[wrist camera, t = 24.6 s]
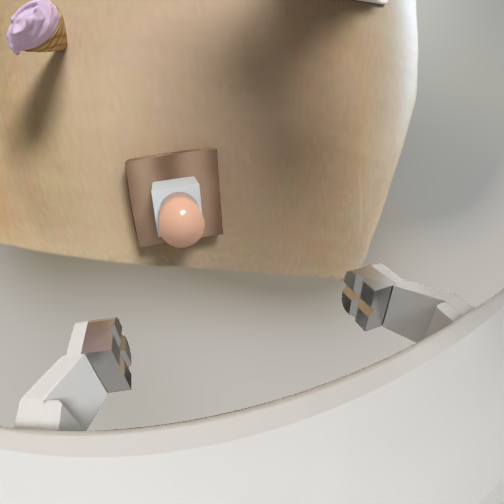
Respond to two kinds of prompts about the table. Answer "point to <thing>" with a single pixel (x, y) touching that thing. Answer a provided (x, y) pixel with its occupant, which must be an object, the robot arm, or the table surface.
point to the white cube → (172, 186)
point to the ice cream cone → (37, 28)
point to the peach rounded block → (180, 220)
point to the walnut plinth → (168, 168)
